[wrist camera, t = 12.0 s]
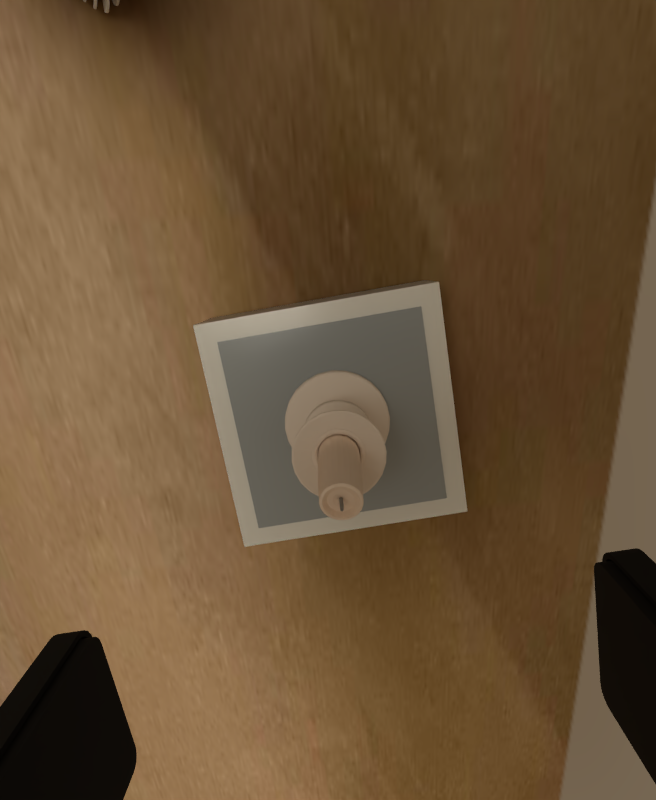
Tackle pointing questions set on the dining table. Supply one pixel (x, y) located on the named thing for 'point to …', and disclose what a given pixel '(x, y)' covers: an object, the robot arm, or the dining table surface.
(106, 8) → the shell sculpture
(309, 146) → the dining table surface
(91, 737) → the robot arm
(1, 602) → the dining table surface
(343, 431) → the candle
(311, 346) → the plinth
